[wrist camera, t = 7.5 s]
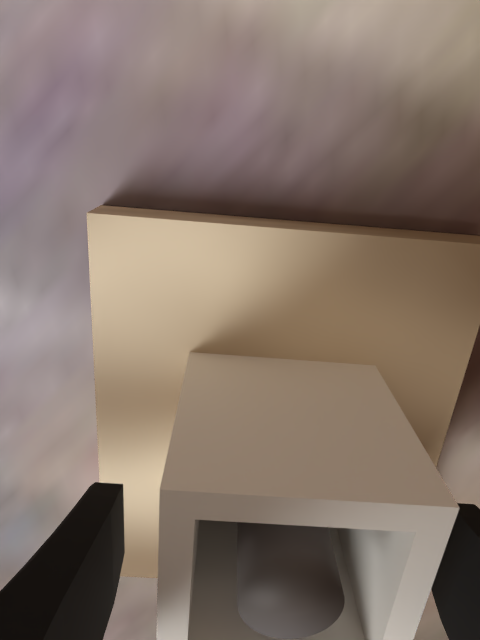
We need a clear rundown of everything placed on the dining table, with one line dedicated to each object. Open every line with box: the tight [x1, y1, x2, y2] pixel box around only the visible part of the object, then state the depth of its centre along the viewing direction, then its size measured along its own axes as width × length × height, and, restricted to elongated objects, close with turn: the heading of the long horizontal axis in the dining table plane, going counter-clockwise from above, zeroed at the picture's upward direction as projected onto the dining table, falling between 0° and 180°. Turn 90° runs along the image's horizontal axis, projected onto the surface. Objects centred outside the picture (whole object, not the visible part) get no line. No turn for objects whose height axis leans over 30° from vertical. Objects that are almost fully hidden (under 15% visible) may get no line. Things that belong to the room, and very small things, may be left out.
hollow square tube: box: [157, 352, 460, 640], centre depth 11 cm, size 5×5×5 cm
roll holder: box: [87, 205, 480, 639], centre depth 11 cm, size 12×10×6 cm
